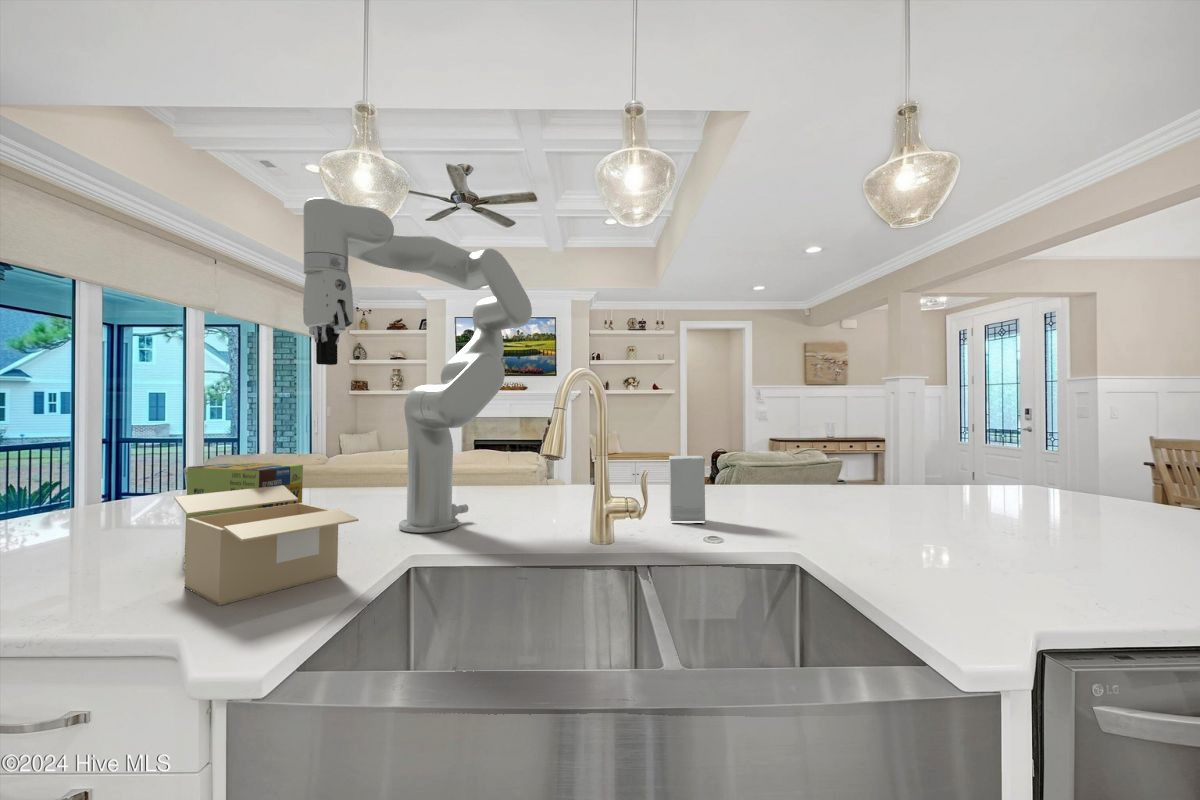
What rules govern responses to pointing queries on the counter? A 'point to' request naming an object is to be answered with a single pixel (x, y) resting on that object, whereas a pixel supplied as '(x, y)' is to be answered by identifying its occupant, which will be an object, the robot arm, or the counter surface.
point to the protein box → (243, 481)
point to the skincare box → (687, 488)
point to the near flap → (289, 524)
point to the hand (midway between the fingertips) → (326, 364)
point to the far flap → (234, 499)
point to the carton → (255, 555)
